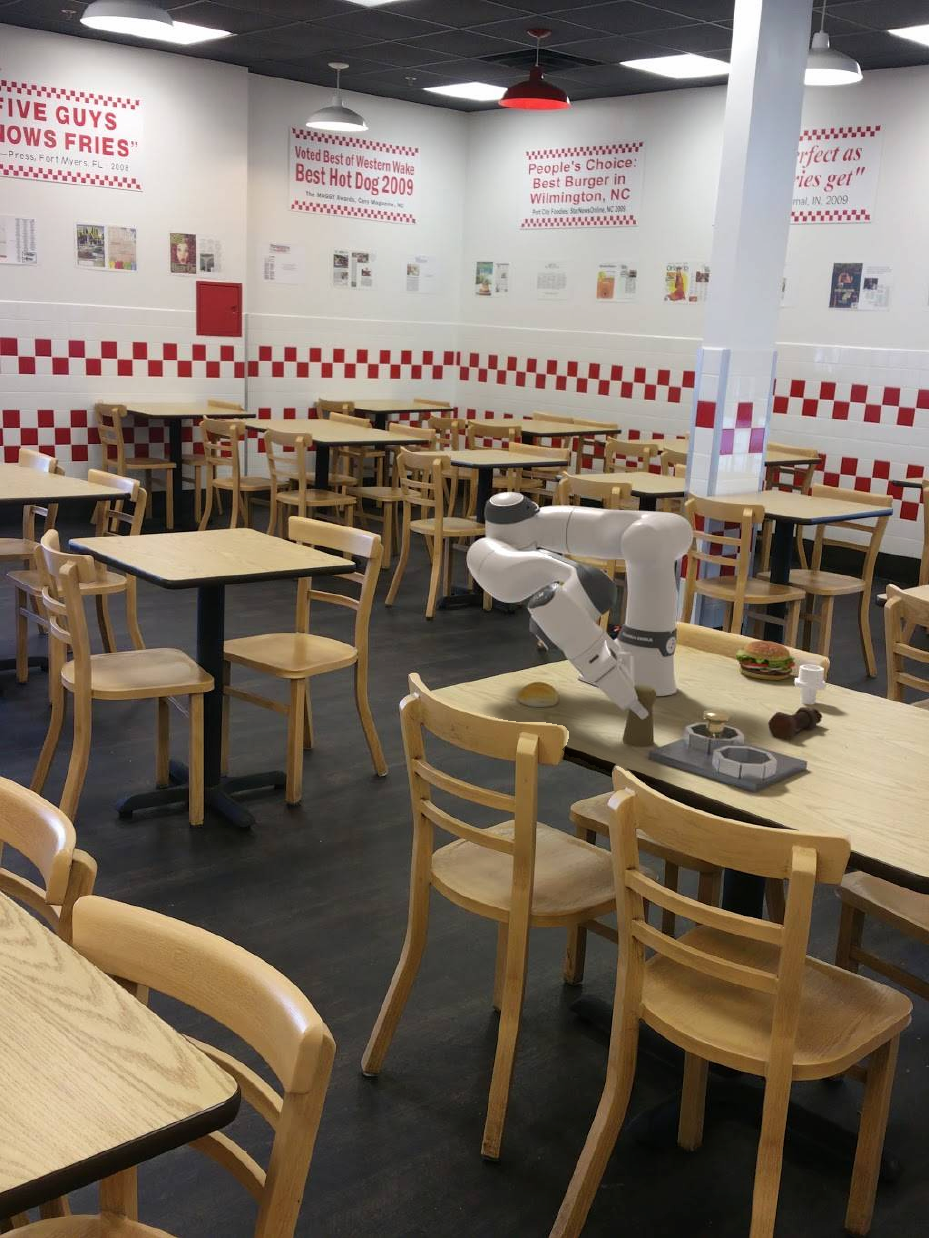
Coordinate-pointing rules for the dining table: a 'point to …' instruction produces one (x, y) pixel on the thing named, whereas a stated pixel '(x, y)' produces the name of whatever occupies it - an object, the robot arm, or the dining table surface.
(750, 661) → the food
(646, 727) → the cork
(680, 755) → the bolt plate
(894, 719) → the dining table surface
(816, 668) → the pipe fitting
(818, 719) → the bolt
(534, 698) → the bread roll
